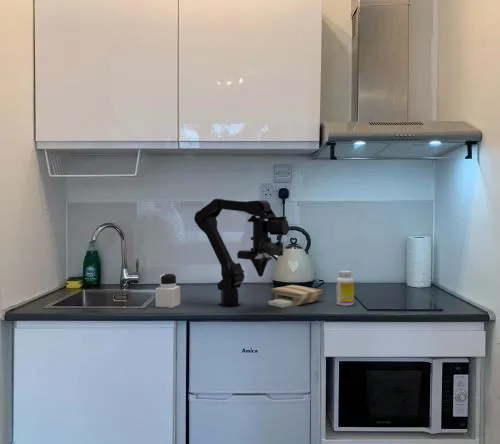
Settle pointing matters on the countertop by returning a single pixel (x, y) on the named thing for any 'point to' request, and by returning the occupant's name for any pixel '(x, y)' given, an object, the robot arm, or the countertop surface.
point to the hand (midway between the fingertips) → (260, 276)
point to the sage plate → (282, 302)
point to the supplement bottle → (345, 289)
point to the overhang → (297, 293)
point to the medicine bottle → (167, 292)
